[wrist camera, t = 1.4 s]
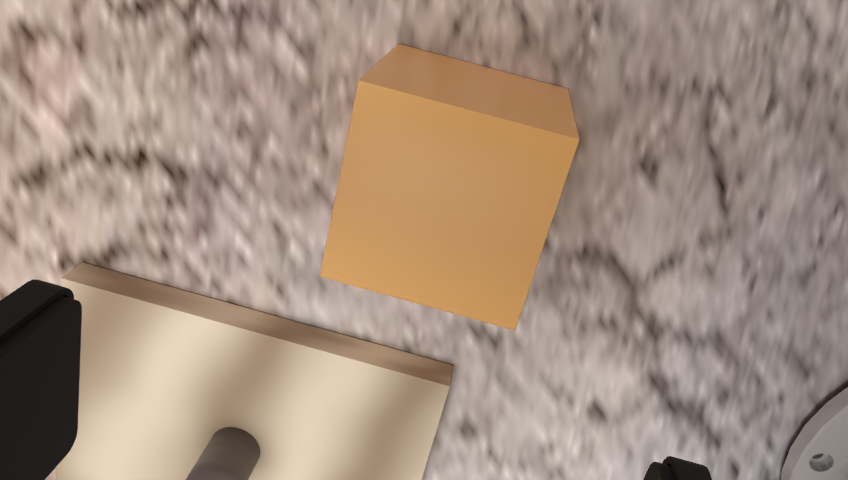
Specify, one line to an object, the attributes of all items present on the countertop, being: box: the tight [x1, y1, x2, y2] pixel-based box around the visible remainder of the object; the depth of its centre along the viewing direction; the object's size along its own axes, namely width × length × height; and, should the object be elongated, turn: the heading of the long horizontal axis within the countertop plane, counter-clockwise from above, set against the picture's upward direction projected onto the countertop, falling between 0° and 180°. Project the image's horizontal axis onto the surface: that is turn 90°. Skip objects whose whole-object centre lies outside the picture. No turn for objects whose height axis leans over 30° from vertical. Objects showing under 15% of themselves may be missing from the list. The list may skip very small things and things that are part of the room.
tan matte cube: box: [320, 44, 580, 330], centre depth 23 cm, size 6×6×6 cm
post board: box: [56, 262, 454, 480], centre depth 30 cm, size 16×12×6 cm
